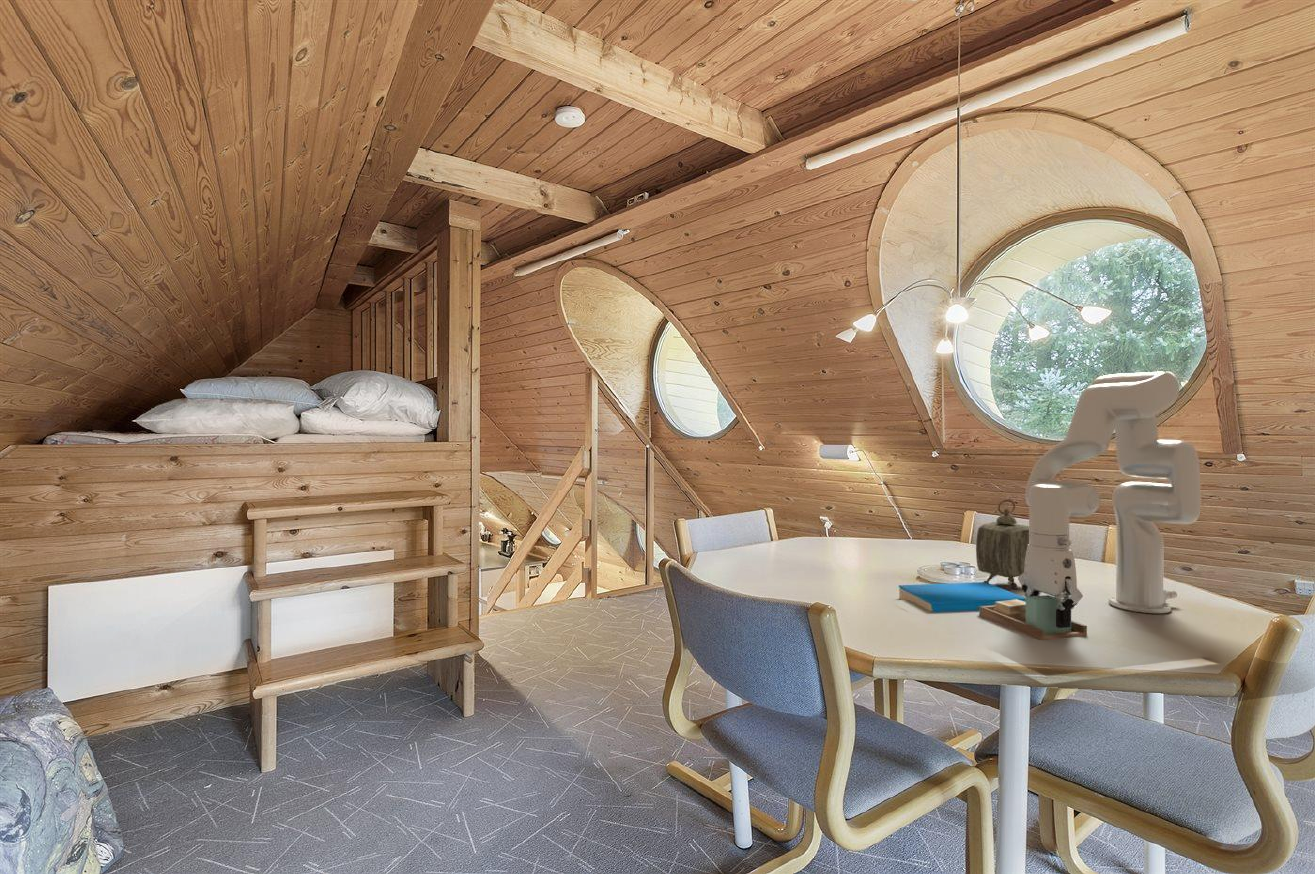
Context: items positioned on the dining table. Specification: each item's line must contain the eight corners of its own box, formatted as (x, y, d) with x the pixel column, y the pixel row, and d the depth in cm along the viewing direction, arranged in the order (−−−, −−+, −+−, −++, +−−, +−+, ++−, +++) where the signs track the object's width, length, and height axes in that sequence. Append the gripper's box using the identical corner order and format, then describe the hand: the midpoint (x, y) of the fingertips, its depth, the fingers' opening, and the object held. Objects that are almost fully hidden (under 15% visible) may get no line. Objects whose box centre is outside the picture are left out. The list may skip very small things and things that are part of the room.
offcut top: (1016, 606, 153) (1016, 599, 153) (1031, 611, 149) (1031, 603, 149) (995, 609, 151) (995, 601, 151) (1009, 614, 147) (1009, 606, 147)
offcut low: (1018, 613, 153) (1019, 606, 153) (1033, 619, 149) (1033, 611, 149) (993, 616, 152) (993, 608, 152) (1008, 621, 147) (1008, 614, 147)
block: (1059, 627, 143) (1059, 594, 143) (1071, 631, 140) (1071, 597, 140) (1025, 630, 141) (1025, 596, 141) (1036, 635, 138) (1036, 600, 138)
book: (897, 585, 172) (984, 580, 175) (898, 601, 172) (985, 596, 175) (932, 603, 155) (1028, 597, 158) (932, 620, 155) (1028, 614, 158)
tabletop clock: (1009, 580, 190) (1010, 496, 189) (1039, 587, 182) (1039, 499, 181) (975, 586, 184) (976, 499, 183) (1004, 593, 175) (1005, 502, 175)
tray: (1021, 615, 155) (1022, 602, 155) (1086, 640, 138) (1086, 625, 138) (979, 619, 153) (979, 606, 153) (1039, 645, 135) (1039, 630, 135)
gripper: (1098, 547, 132) (1097, 632, 133) (1031, 533, 149) (1031, 609, 150) (1068, 549, 131) (1067, 635, 131) (1004, 535, 148) (1004, 611, 148)
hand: (1048, 620), depth 140 cm, fingers open, 7 cm apart
